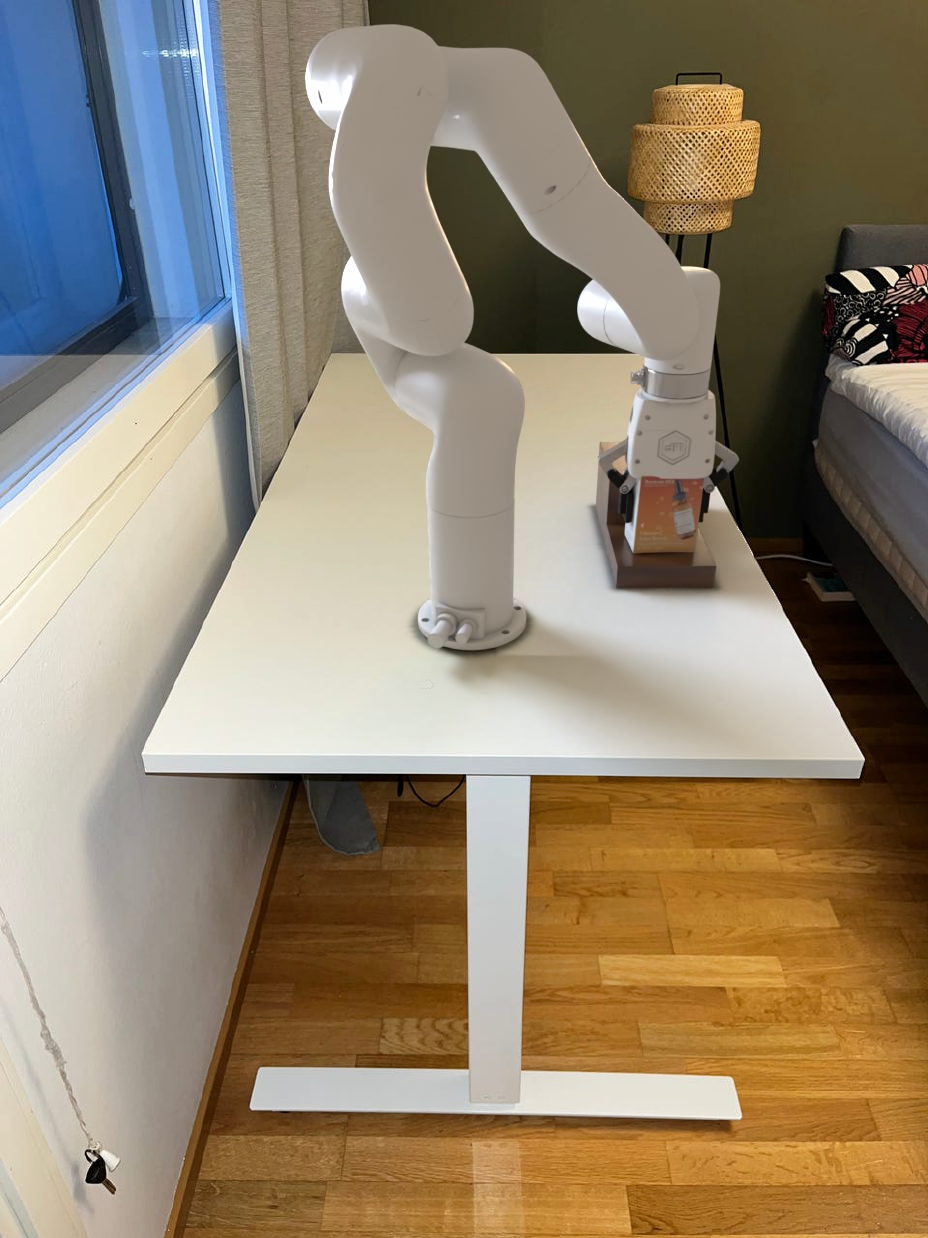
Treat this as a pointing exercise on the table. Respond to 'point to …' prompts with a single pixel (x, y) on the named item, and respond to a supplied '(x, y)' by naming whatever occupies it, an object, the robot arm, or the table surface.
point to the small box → (664, 515)
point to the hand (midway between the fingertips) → (662, 517)
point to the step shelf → (646, 566)
